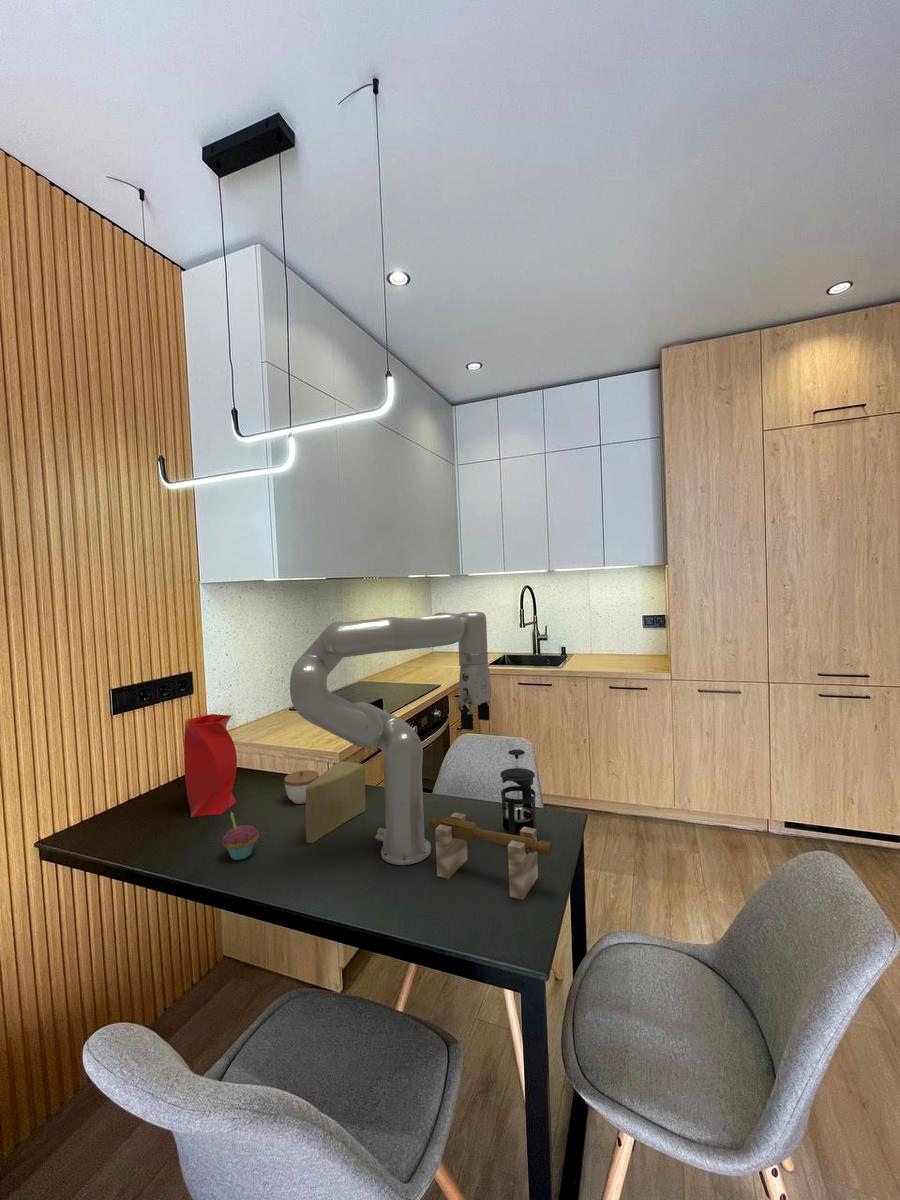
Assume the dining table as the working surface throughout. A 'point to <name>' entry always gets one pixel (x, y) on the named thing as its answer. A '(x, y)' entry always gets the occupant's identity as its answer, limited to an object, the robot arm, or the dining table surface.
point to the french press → (518, 815)
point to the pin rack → (520, 861)
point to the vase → (209, 764)
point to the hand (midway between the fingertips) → (475, 724)
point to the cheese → (334, 799)
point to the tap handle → (489, 835)
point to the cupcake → (240, 840)
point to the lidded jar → (299, 785)
